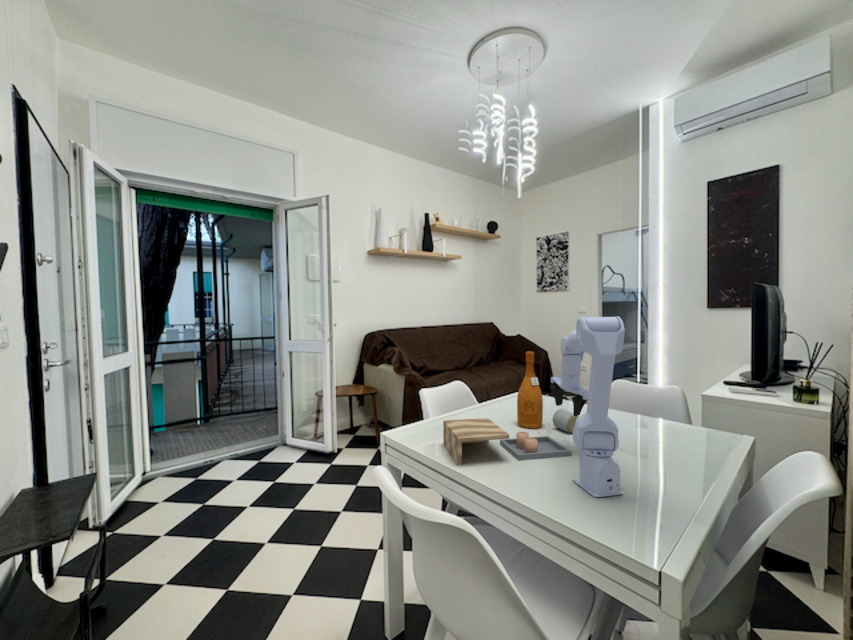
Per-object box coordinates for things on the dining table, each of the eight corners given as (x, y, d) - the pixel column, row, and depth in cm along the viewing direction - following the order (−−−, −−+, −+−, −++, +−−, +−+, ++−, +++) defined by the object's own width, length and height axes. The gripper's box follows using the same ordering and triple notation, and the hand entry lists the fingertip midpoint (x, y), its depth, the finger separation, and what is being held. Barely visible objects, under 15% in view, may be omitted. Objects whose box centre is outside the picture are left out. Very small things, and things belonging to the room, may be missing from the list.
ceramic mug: (568, 435, 131) (568, 414, 131) (551, 429, 139) (552, 409, 139) (588, 432, 136) (589, 412, 136) (572, 426, 143) (572, 406, 143)
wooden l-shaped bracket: (509, 461, 108) (509, 434, 108) (458, 466, 105) (458, 438, 105) (487, 441, 125) (487, 417, 125) (443, 444, 122) (443, 420, 122)
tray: (571, 458, 112) (571, 450, 112) (518, 463, 108) (518, 455, 108) (547, 442, 126) (547, 435, 126) (500, 446, 122) (500, 439, 122)
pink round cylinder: (539, 455, 112) (539, 441, 112) (528, 456, 111) (528, 442, 111) (533, 450, 116) (533, 437, 116) (522, 451, 115) (522, 438, 115)
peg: (530, 448, 118) (530, 435, 118) (519, 449, 117) (519, 435, 117) (525, 444, 122) (525, 431, 122) (514, 445, 121) (514, 432, 121)
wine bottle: (516, 428, 140) (516, 352, 139) (517, 421, 149) (517, 349, 149) (542, 430, 137) (543, 352, 136) (542, 423, 146) (542, 350, 146)
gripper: (598, 378, 111) (594, 416, 114) (562, 362, 123) (560, 397, 127) (581, 383, 108) (578, 422, 112) (547, 366, 121) (545, 402, 124)
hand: (567, 409), depth 119 cm, fingers open, 7 cm apart
